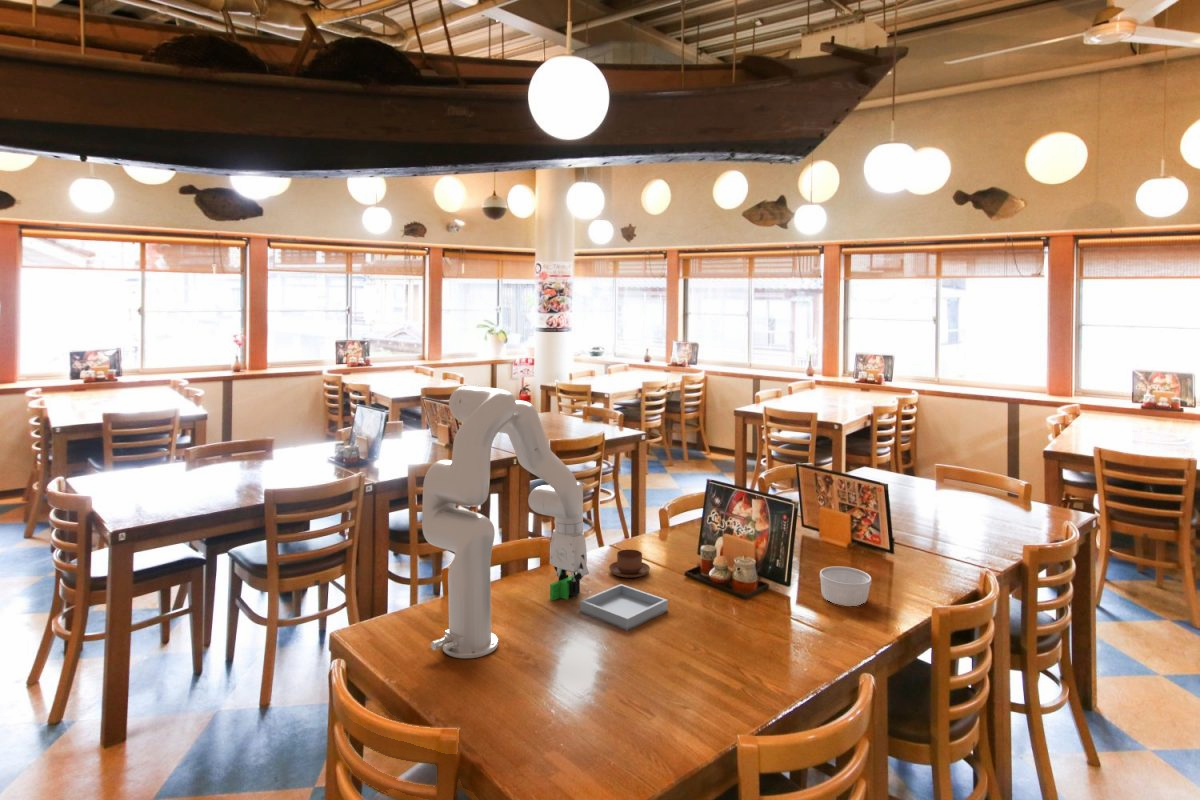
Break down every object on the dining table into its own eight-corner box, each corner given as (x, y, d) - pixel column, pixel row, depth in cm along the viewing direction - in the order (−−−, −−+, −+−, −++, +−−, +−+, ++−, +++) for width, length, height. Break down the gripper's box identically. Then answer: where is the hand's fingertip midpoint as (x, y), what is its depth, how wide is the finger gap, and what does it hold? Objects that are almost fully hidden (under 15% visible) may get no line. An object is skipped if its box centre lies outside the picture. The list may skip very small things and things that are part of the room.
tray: (627, 630, 174) (627, 618, 174) (579, 612, 185) (580, 600, 185) (667, 611, 186) (667, 599, 186) (620, 594, 197) (620, 583, 196)
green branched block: (559, 603, 191) (559, 587, 190) (550, 599, 193) (549, 584, 193) (585, 591, 199) (585, 576, 198) (576, 588, 201) (576, 573, 200)
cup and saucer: (603, 568, 217) (604, 549, 216) (641, 564, 220) (641, 545, 220) (616, 583, 205) (616, 562, 205) (655, 578, 209) (656, 558, 208)
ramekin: (881, 605, 191) (882, 580, 190) (841, 612, 186) (842, 586, 185) (847, 587, 203) (848, 563, 202) (808, 593, 198) (809, 569, 197)
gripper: (537, 523, 197) (538, 588, 199) (581, 536, 186) (581, 604, 188) (557, 518, 202) (557, 580, 204) (601, 530, 191) (600, 596, 193)
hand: (569, 591), depth 196 cm, fingers closed on green branched block, 3 cm apart
